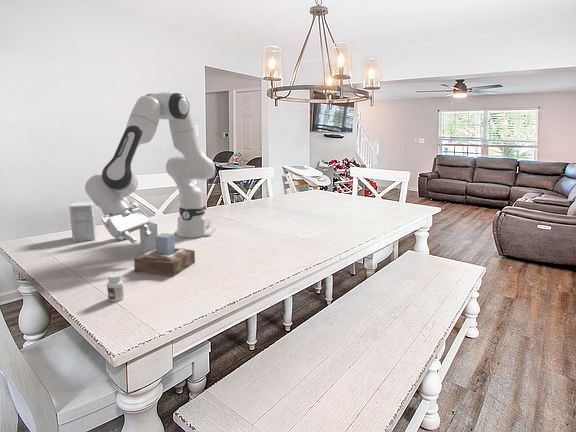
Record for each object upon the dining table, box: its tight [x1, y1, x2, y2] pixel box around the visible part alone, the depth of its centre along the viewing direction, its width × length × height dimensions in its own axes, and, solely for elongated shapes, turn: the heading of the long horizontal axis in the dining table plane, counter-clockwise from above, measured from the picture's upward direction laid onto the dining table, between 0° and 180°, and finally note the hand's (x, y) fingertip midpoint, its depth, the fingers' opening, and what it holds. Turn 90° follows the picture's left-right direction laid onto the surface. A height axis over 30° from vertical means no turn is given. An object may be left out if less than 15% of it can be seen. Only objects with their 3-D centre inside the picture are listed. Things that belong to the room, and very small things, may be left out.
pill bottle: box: [106, 273, 125, 303], centre depth 117 cm, size 4×4×8 cm
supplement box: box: [68, 201, 98, 243], centre depth 180 cm, size 10×9×17 cm
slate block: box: [155, 232, 176, 256], centre depth 145 cm, size 5×5×8 cm
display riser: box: [133, 247, 196, 277], centre depth 146 cm, size 16×16×6 cm
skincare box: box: [139, 222, 159, 254], centre depth 163 cm, size 6×4×12 cm
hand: (142, 238), depth 146 cm, fingers open, 8 cm apart
